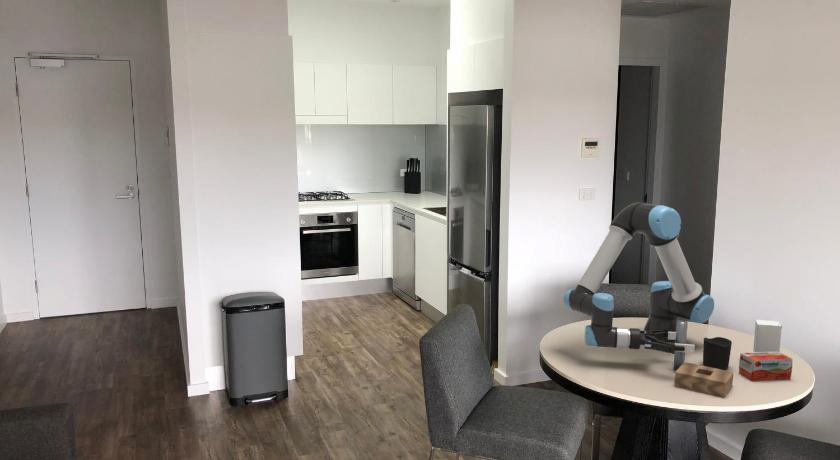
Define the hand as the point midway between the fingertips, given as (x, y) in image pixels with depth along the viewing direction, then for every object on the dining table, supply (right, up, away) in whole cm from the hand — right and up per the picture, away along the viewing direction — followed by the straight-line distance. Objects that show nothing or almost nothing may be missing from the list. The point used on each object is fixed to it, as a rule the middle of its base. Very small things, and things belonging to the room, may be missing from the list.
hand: (690, 342), depth 245 cm
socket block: (-1, -13, -12) cm, 18 cm away
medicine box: (+25, -12, -3) cm, 28 cm away
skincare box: (+32, -9, +11) cm, 36 cm away
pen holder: (+12, -10, +6) cm, 17 cm away
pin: (-3, -10, +2) cm, 11 cm away
